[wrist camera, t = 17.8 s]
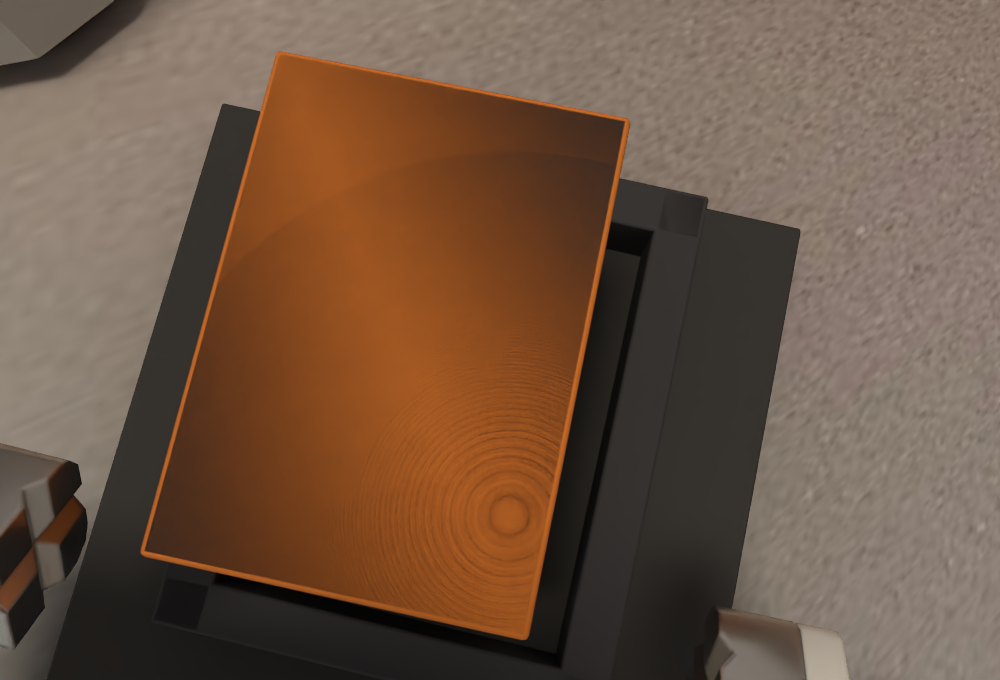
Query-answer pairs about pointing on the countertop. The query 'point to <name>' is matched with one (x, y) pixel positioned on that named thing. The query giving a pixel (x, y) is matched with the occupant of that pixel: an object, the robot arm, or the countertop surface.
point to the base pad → (580, 498)
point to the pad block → (393, 346)
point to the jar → (40, 25)
